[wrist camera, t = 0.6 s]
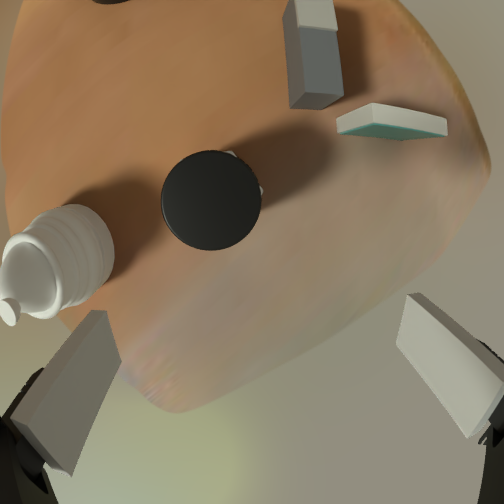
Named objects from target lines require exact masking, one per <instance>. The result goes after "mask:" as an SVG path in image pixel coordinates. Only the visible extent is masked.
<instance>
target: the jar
mask: <svg viewBox="0 0 504 504" xmlns="http://www.w3.org/2000/svg"><path fill="white" fill-rule="evenodd" d="M262 193H263V189H262V188H261V186H260V185H259V183H258V180H257V178H256V176H255V175H254V172H252V170H251V168H250V167H249V166H248V165H247V164H245V163H244V161H242V160H241V159H239V158H238V157H237V156H236V155H235V154H234V153H233V151H224V152H222V151H217V150H210V151H209V150H206V151H201V152H197V153H194V154H192V155H189V156H187V157H186V158H184V159H181V160H180V162H179V163H178V164H176V165H175V166H174V168H173V169H172V170H171V171H170V173H169V174H168V176H167V178H166V180H165V182H164V185H163V188H162V192H161V209H162V214H163V217H164V220H165V222H166V224H167V226H168V227H169V229H170V230H171V232H172V233H173V234H174V235H175V236H176V237H177V238H178V239H179V240H181V241H182V242H183V243H185V244H187V245H189V246H191V247H194V248H196V249H200V250H209V251H213V250H221V249H225V248H228V247H231V246H233V245H235V244H237V243H238V242H240V241H241V240H242V239H244V238H245V237H246V236H247V235H248V234H249V233H250V231H251V230H252V229H253V227H254V226H255V224H256V222H257V220H258V217H259V214H260V210H261V201H262V199H261V196H262Z"/></svg>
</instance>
